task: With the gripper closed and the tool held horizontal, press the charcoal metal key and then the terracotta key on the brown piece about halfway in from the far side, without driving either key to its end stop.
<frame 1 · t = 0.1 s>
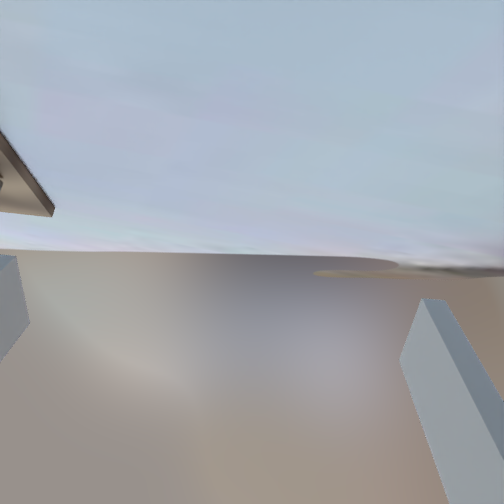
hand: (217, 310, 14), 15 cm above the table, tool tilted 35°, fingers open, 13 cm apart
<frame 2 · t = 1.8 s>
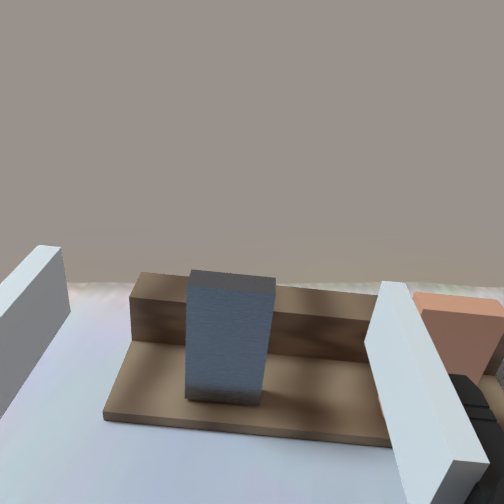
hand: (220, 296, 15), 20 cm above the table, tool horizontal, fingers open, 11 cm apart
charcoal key: (227, 341, 33), point 7 cm above the table, slide at 0.0 cm
brown piece: (314, 382, 39), on the table
terracotta key: (437, 362, 33), point 7 cm above the table, slide at 0.0 cm
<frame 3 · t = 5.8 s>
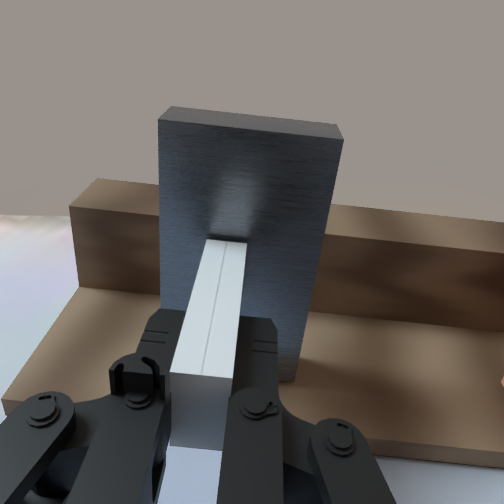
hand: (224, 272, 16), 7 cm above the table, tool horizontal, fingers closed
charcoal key: (239, 259, 17), point 7 cm above the table, slide at 0.6 cm, touching gripper
brown piece: (380, 356, 23), on the table
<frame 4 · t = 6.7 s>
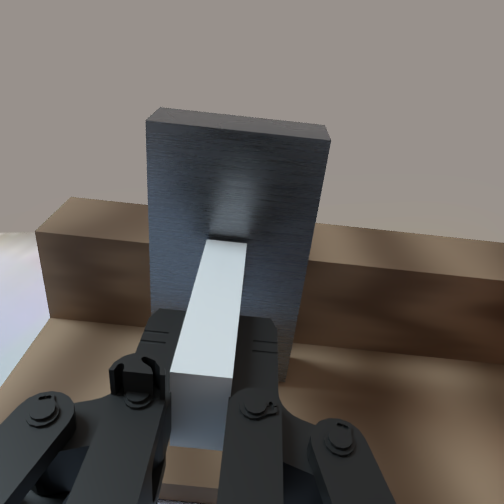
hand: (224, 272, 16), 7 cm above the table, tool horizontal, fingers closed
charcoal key: (229, 259, 17), point 7 cm above the table, slide at 3.3 cm, touching gripper
brown piece: (383, 395, 21), on the table
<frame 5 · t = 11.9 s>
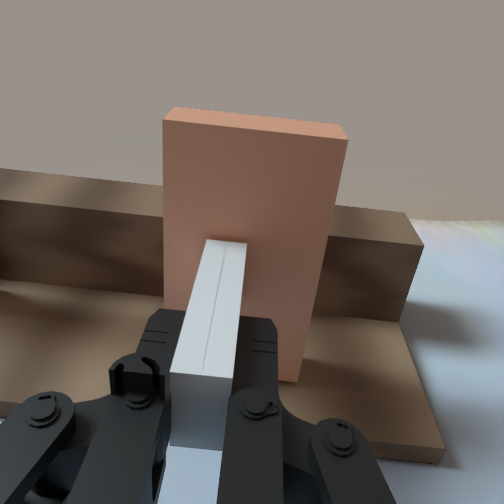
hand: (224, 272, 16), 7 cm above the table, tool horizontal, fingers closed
brown piece: (86, 326, 23), on the table
terracotta key: (243, 259, 17), point 7 cm above the table, slide at 0.7 cm, touching gripper
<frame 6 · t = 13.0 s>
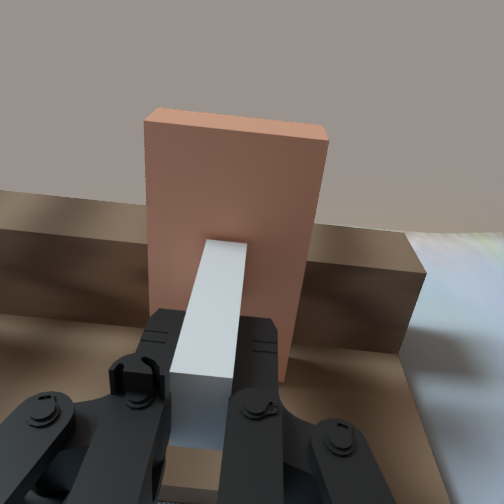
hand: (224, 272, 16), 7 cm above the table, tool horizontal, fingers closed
brown piece: (53, 363, 21), on the table
terracotta key: (227, 259, 17), point 7 cm above the table, slide at 3.4 cm, touching gripper
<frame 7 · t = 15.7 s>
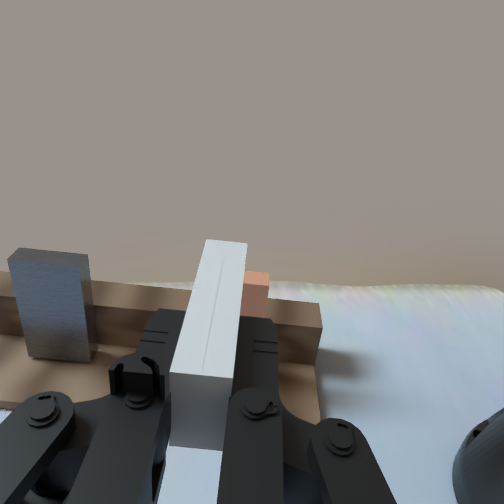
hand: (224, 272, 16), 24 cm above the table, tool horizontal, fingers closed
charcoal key: (56, 308, 40), point 7 cm above the table, slide at 3.3 cm
brown piece: (145, 370, 43), on the table
terracotta key: (230, 325, 40), point 7 cm above the table, slide at 3.4 cm
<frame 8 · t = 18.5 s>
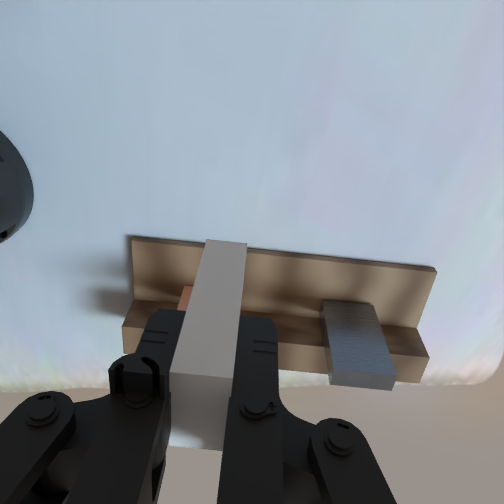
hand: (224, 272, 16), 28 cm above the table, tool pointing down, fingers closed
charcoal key: (353, 340, 46), point 7 cm above the table, slide at 3.3 cm
brown piece: (278, 295, 51), on the table
terracotta key: (203, 325, 46), point 7 cm above the table, slide at 3.4 cm
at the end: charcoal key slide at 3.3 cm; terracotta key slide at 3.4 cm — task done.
